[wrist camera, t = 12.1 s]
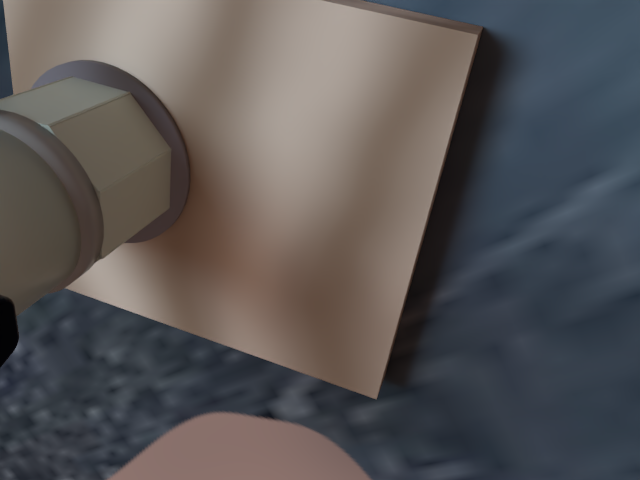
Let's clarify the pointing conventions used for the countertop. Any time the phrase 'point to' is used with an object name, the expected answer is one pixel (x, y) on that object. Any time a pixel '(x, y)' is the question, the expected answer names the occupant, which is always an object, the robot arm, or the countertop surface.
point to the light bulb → (73, 182)
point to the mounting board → (270, 162)
